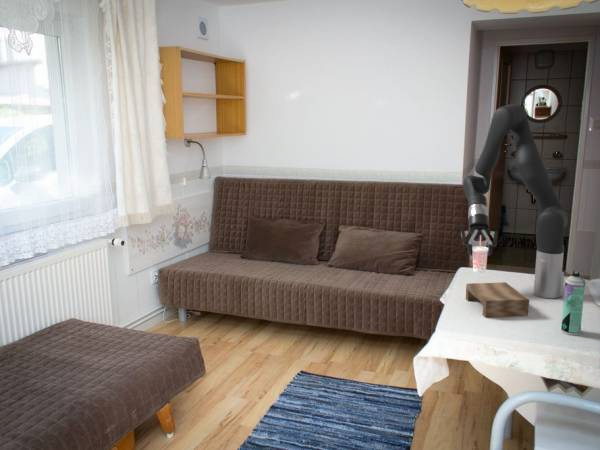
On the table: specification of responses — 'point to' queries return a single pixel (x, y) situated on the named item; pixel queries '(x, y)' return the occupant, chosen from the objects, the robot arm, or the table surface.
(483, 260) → the beverage cup
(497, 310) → the walnut shelf stand
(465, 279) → the table surface
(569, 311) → the spray can
